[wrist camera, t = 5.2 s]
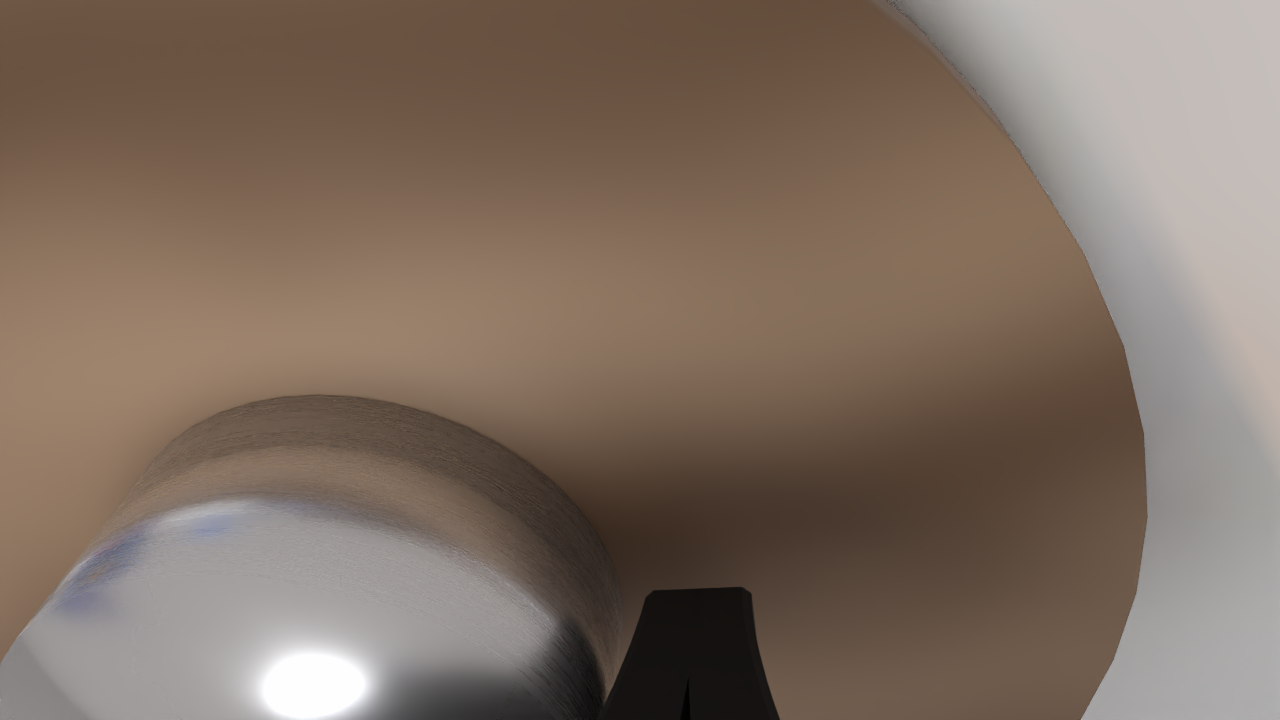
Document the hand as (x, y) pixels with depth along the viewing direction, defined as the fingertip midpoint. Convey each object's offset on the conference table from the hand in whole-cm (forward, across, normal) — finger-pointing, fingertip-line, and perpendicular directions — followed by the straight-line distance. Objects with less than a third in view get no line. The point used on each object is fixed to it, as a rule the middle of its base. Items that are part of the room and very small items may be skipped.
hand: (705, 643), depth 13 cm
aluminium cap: (+1, +5, 0) cm, 5 cm away
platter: (+2, +4, 0) cm, 5 cm away
